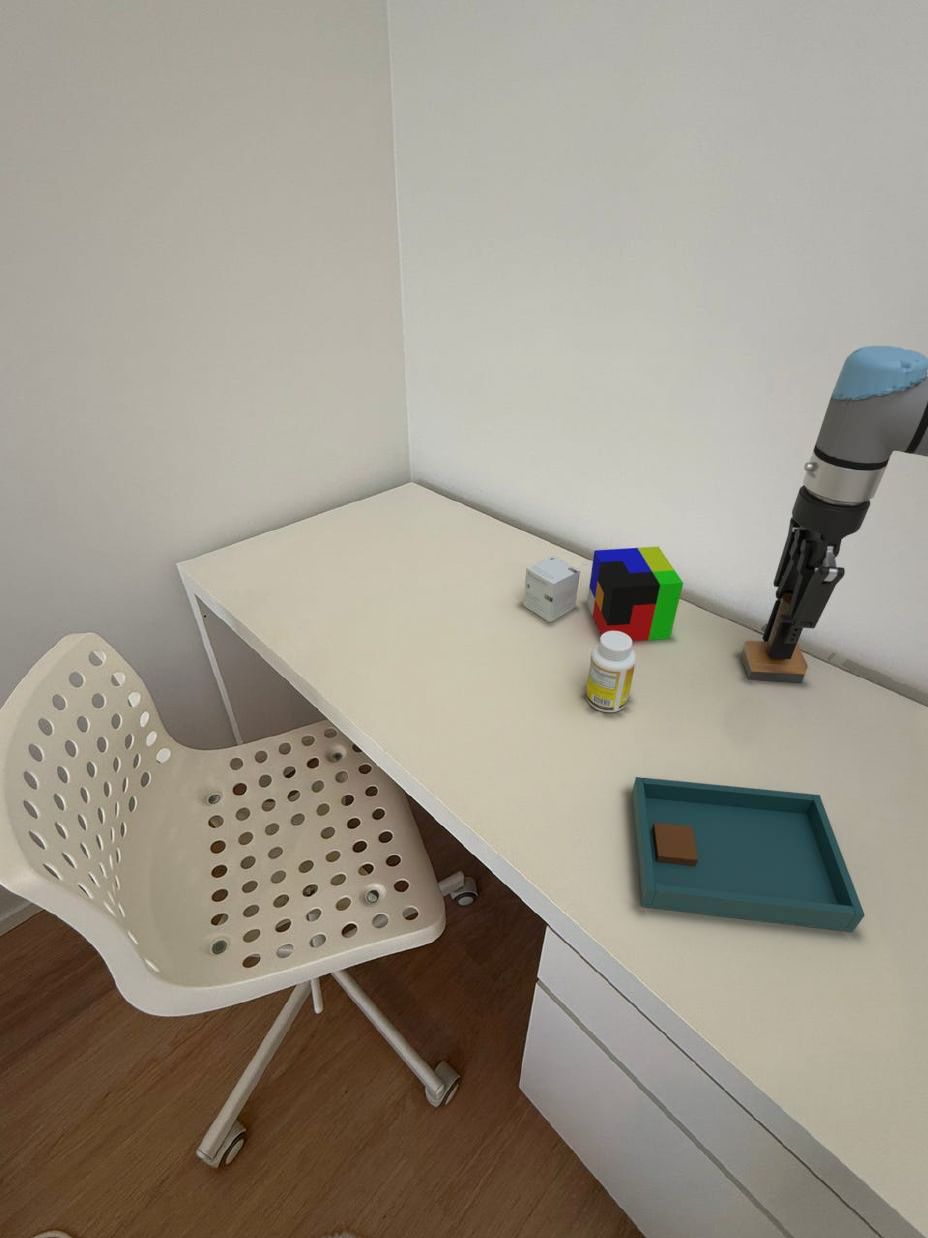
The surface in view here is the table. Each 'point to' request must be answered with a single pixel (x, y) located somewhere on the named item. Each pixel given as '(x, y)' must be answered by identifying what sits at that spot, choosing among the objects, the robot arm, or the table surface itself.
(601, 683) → the supplement bottle
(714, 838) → the tray
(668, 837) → the brown square tile
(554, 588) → the white cardboard box
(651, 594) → the puzzle toy
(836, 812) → the table surface
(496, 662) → the table surface
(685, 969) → the table surface
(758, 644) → the wooden rubber stamp
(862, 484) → the robot arm
